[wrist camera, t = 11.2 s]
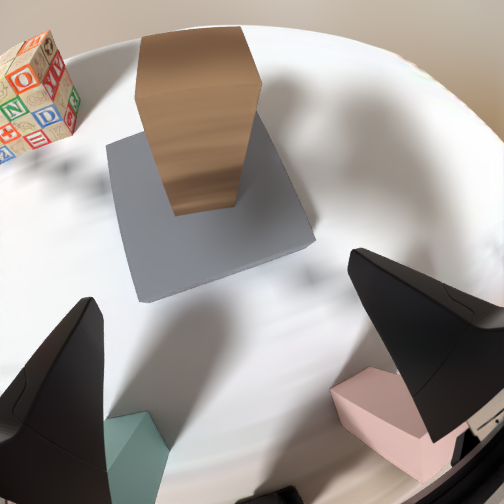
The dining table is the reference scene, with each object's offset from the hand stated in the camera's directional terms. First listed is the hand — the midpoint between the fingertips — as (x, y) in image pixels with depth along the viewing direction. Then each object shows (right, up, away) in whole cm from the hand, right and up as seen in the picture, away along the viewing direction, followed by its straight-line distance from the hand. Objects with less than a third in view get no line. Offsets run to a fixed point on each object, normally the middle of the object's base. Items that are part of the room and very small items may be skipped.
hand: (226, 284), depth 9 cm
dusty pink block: (+11, -13, +13) cm, 21 cm away
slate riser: (-4, +6, +15) cm, 16 cm away
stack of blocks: (-30, +15, +13) cm, 36 cm away
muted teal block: (-9, -15, +9) cm, 20 cm away
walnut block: (-3, +6, +12) cm, 14 cm away
